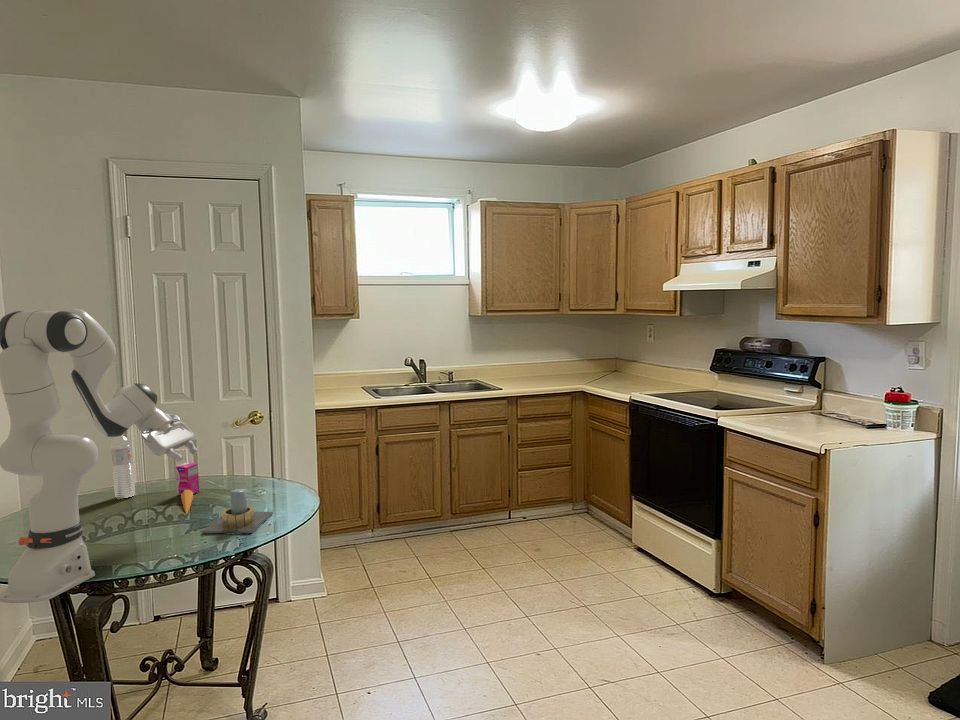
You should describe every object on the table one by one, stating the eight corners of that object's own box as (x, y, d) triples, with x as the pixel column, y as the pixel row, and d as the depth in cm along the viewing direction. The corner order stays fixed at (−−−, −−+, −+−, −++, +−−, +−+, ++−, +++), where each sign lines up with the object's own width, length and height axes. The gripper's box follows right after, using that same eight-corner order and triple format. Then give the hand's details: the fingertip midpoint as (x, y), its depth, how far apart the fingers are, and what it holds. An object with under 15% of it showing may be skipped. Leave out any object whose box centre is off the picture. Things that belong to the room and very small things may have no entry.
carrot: (184, 501, 244) (178, 491, 242) (196, 495, 245) (190, 485, 243) (183, 523, 226) (176, 512, 224) (196, 517, 227) (189, 506, 225)
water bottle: (126, 500, 244) (121, 434, 241) (110, 499, 245) (105, 433, 243) (139, 494, 251) (134, 430, 248) (124, 494, 252) (118, 430, 249)
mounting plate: (251, 533, 205) (251, 530, 205) (202, 534, 206) (201, 531, 206) (273, 514, 223) (272, 511, 223) (227, 514, 224) (227, 512, 224)
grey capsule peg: (244, 523, 212) (242, 493, 211) (229, 523, 212) (227, 493, 211) (250, 518, 217) (249, 488, 216) (235, 518, 217) (234, 488, 216)
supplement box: (176, 496, 248) (174, 466, 246) (187, 491, 253) (185, 462, 252) (189, 497, 246) (187, 467, 245) (200, 492, 252) (198, 463, 250)
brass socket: (247, 526, 209) (246, 515, 209) (217, 526, 210) (216, 515, 210) (259, 515, 219) (258, 505, 219) (230, 516, 220) (230, 505, 219)
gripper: (144, 425, 202) (177, 456, 202) (179, 414, 222) (209, 442, 222) (132, 440, 202) (164, 471, 202) (168, 427, 223) (197, 455, 223)
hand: (188, 456), depth 212 cm, fingers open, 8 cm apart
